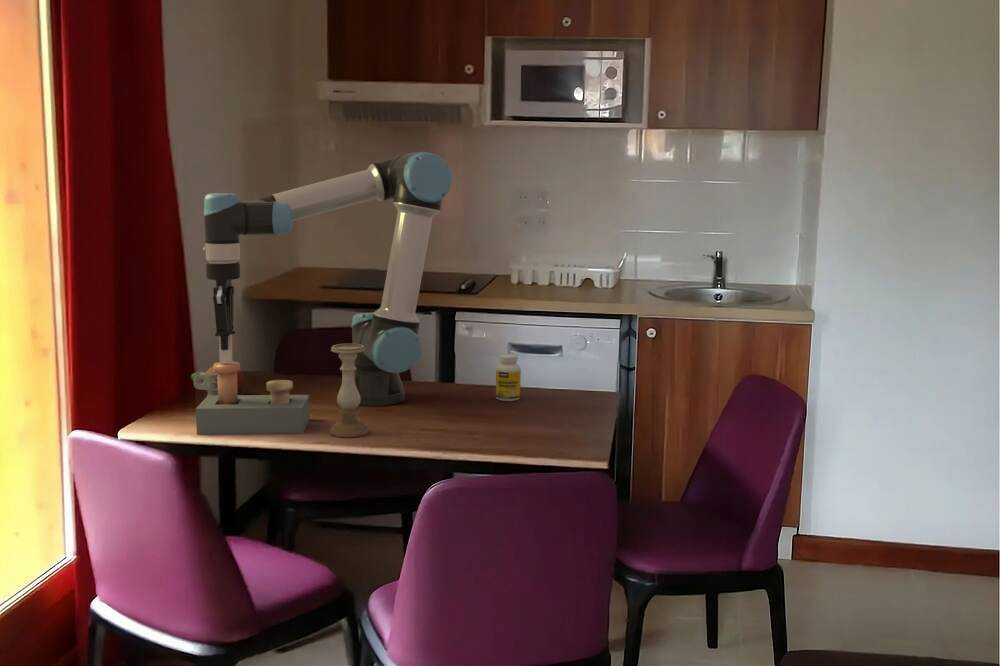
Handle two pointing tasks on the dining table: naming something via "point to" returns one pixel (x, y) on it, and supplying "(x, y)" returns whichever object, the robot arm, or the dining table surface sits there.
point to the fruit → (239, 379)
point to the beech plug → (279, 391)
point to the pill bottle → (508, 378)
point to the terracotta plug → (227, 382)
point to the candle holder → (348, 394)
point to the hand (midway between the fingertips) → (226, 362)
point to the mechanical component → (206, 382)
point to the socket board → (252, 415)
